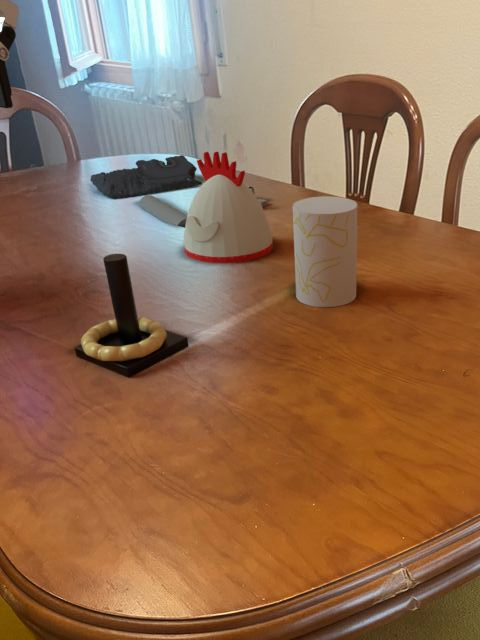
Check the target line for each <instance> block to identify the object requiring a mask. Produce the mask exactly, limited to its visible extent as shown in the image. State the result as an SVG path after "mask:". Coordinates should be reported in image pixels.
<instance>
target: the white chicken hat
mask: <svg viewBox="0 0 480 640" xmlns="http://www.w3.org/2000/svg"><path fill="white" fill-rule="evenodd" d="M196 163H197V166H198V169H199V171H200V172H201V175H202V177H203V179H204V182H203V184H202V185H201V186H200V187H199V189H198V190H197V191H196V193H195V195H194V197H193V198H192V201H191V203H190V205H189V208H188V212H187V214H186V215H187V219H186V226H185V227H184V233H183V249H184V253H185V255H186V256H187V257H188V258H190V259H192V260H194V261H198V262H202V263H209V264H210V263H211V264H232V263H242V262H246V261H247V262H248V261H252V260H255V259H258V258H261V257H263V256H266V255H267V254H269V253H270V252H271V251H272V250H273V249H274V244H273V242H274V241H273V234H272V229H271V227H270V224H269V221H268V218H267V216H266V212H265V210H264V208H263V207H262V204H261V202H259V200H258V199H259V198H257V196H256V194H255V195H254V193H253V192H252V189H251V188H248V187H247V186H248V185H247V184H246V183H245V182H244V179H245V175H246V174H245V173H246V170H241V171H240V172H239V174H238V176H237V175H236V173H237V160H235V161H232V162H230V161H229V157H228V153H227V151H225V152H222V153H221V157H220V153H219V151H214V152H213V156H212V158H211V154H210V152H209V151H205V152H203V159H201V158H200V159H197V160H196Z"/></svg>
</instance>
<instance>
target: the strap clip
mask: <svg viewBox="0 0 480 640" xmlns="http://www.w3.org/2000/svg"><path fill="white" fill-rule="evenodd" d="M246 186H247V187H248V188H249V189H250V190H251V191H252V192H253V193H254V195H255V196H256V192H255V187H254V186H249V185H246ZM257 199H258V200H259V202H261V204H262V208H263V207H265V206H266V205H267V203H268V201H267V199H263V198H257Z"/></svg>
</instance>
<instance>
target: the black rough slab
mask: <svg viewBox="0 0 480 640" xmlns="http://www.w3.org/2000/svg"><path fill="white" fill-rule="evenodd" d="M164 160H165V161H166V162H165V161H163V160H159V159H157V158H152V159H149V160H145V159H139V160H137V161H136V162H135V165H136V167H132V168H122V169H116V170H113V171H109V172H104V171H100V172H99V173H96V174H91V175H90V182H91V183H92V185H93V186H95V187H96V190H97V191H98V192H99V193H101V194H102V195H103V196H105V197H108V198H111V199H114V198H132V197H139V196H147V195H153V194H159V193H166V192H173V191H179V190H185V189H189V188H190V189H191V188H195V187H197V185H201V184H202V181H201V180H198V179H196V178H195V177H196V172H197V169H198V168H197V166H195V165H194V163H192V162H191V161H189V160H188V159H187V158H186V157H185V155H183V154H181V155H173V156H169V157H165V159H164Z"/></svg>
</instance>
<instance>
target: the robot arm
mask: <svg viewBox="0 0 480 640" xmlns="http://www.w3.org/2000/svg"><path fill="white" fill-rule="evenodd" d="M19 12H20V11H19V6H18V5H17V4H15V3H14V2H13V1H12V0H0V108H1V109H2V108H3V109H12V108H13V106H14V104H13V99H12V94H13V92H12V91H13V90H12V87H11V83H10V78H9V73H8V71H7V69H8V68H7V65H6V61H8V59H9V58H10V49H11V47H12V46H13V44H14V41H15V40H16V37H17V34H16V31H15V30H16V28H17V23H18V17H19Z"/></svg>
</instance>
